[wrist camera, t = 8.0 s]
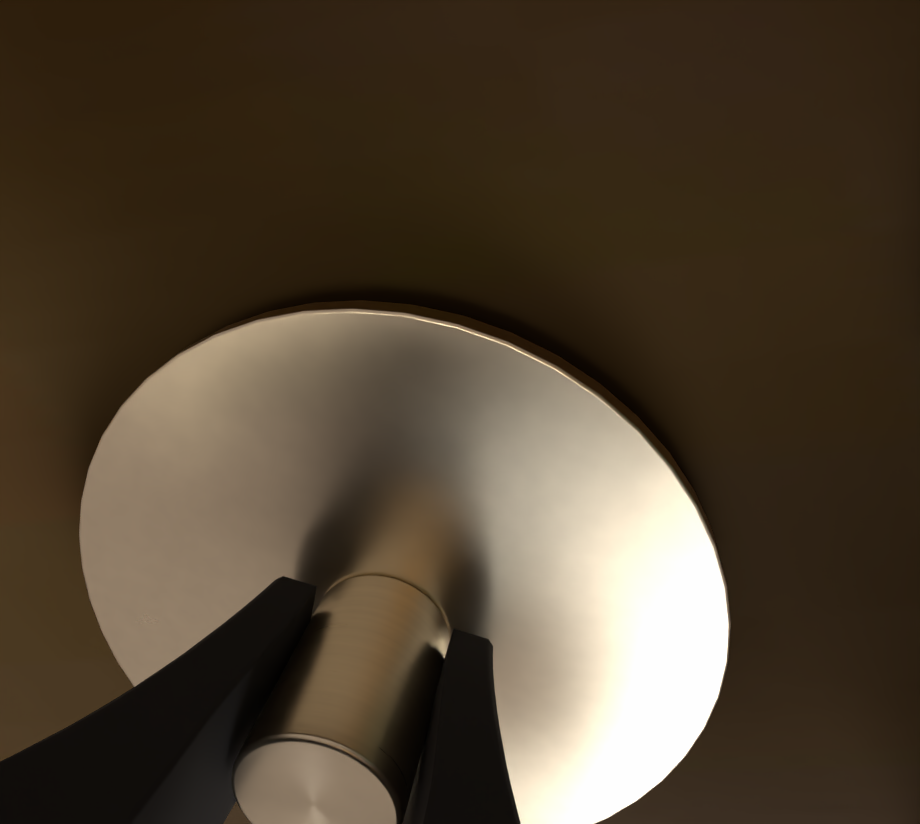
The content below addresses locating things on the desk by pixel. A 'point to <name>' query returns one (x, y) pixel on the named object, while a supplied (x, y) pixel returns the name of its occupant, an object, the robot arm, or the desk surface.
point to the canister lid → (412, 555)
